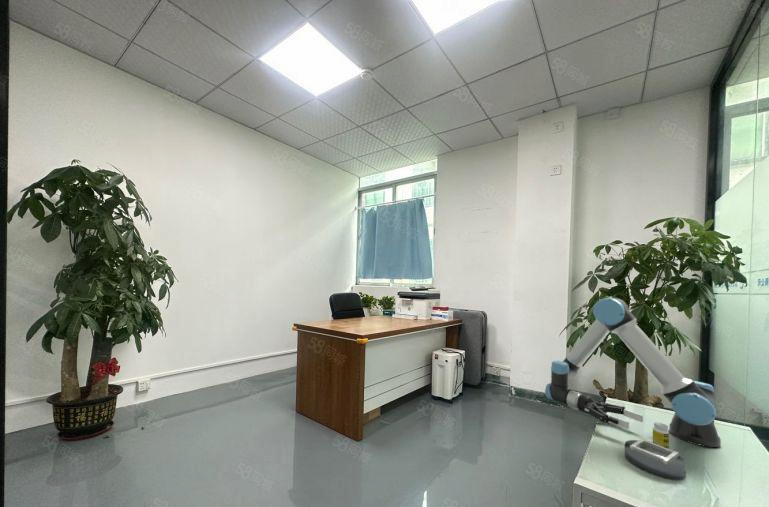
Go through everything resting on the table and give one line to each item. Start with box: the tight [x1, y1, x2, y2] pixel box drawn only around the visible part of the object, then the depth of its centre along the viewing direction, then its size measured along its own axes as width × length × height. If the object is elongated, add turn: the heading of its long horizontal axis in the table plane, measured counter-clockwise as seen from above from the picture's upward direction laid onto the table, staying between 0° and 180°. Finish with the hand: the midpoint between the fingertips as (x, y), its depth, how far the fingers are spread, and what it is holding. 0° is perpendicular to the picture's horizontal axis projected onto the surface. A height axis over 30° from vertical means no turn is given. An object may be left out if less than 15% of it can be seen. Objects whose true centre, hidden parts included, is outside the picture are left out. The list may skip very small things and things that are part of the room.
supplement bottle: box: [652, 421, 670, 449], centre depth 120 cm, size 5×5×8 cm
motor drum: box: [624, 438, 687, 481], centre depth 107 cm, size 16×16×5 cm
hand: (635, 422), depth 127 cm, fingers open, 13 cm apart
